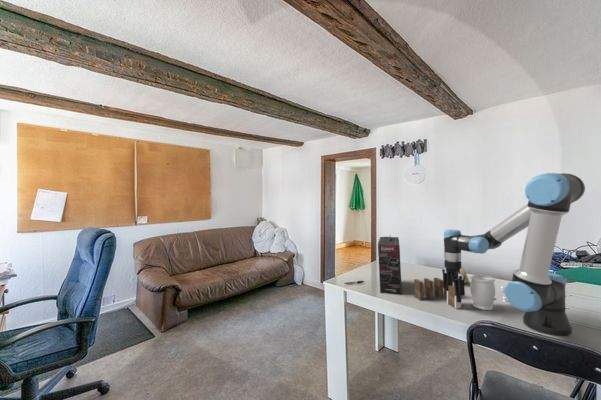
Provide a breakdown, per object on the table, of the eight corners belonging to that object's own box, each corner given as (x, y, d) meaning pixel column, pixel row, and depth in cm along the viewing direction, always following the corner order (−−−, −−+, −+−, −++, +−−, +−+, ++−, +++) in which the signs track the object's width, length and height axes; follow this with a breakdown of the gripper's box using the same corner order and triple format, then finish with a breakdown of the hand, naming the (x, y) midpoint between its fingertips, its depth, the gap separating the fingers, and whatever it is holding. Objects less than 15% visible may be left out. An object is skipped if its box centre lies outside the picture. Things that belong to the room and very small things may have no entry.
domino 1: (417, 296, 151) (417, 279, 151) (423, 300, 146) (422, 281, 146) (414, 297, 150) (414, 279, 150) (420, 300, 145) (419, 282, 145)
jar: (472, 301, 142) (471, 273, 142) (496, 305, 136) (495, 276, 136) (469, 308, 134) (468, 278, 134) (494, 313, 127) (494, 281, 127)
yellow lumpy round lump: (468, 290, 167) (474, 277, 171) (462, 279, 162) (468, 265, 166) (451, 286, 175) (457, 273, 179) (445, 275, 170) (451, 262, 174)
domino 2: (427, 295, 152) (427, 278, 151) (433, 299, 147) (432, 281, 146) (424, 296, 151) (424, 278, 151) (430, 299, 146) (429, 281, 146)
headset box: (401, 295, 154) (400, 237, 154) (378, 293, 158) (377, 237, 158) (400, 281, 177) (399, 232, 177) (380, 280, 182) (379, 231, 181)
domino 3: (437, 295, 152) (436, 277, 152) (443, 298, 148) (442, 280, 147) (434, 295, 152) (433, 277, 152) (440, 298, 147) (439, 280, 147)
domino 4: (446, 294, 153) (446, 276, 153) (453, 297, 148) (452, 279, 148) (444, 294, 153) (443, 276, 153) (450, 297, 148) (449, 279, 148)
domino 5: (451, 304, 139) (451, 285, 139) (458, 308, 135) (458, 288, 134) (448, 304, 139) (448, 285, 139) (455, 308, 134) (455, 288, 134)
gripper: (473, 264, 128) (474, 312, 129) (447, 255, 146) (448, 298, 146) (459, 265, 127) (460, 314, 127) (434, 256, 145) (435, 299, 145)
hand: (453, 305), depth 137 cm, fingers closed on domino 5, 5 cm apart
